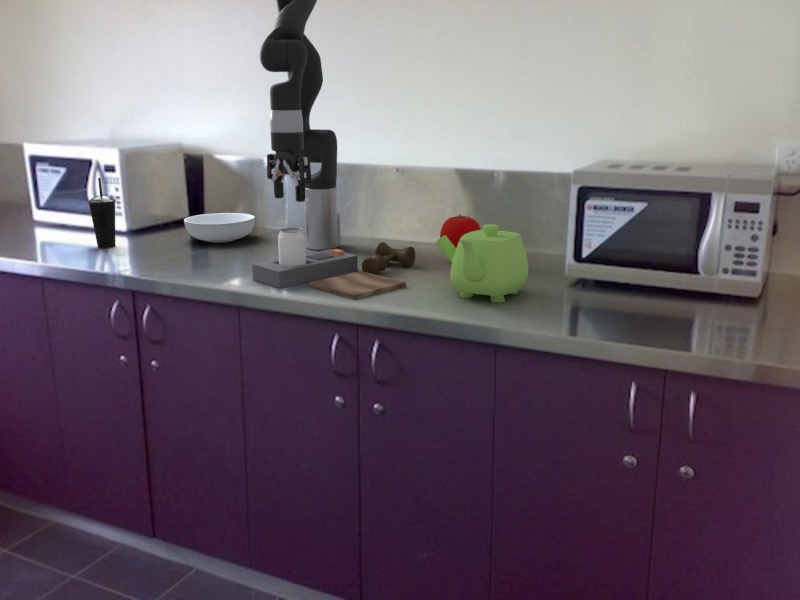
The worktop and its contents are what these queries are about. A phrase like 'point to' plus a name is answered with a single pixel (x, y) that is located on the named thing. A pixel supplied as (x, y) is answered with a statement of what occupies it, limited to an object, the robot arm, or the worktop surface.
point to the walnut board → (357, 284)
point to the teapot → (487, 262)
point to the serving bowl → (219, 226)
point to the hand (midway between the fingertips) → (289, 199)
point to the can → (291, 247)
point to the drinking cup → (103, 219)
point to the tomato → (458, 228)
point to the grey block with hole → (305, 268)
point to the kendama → (388, 258)
